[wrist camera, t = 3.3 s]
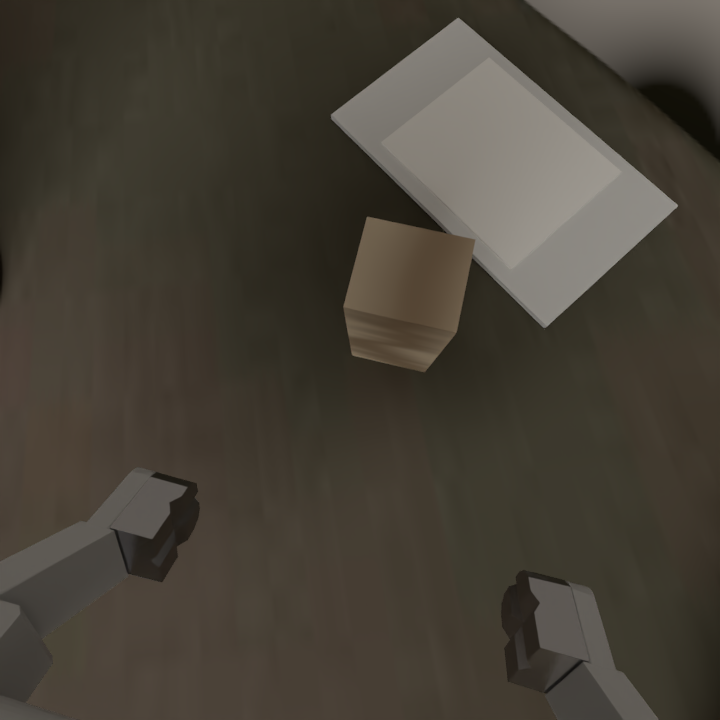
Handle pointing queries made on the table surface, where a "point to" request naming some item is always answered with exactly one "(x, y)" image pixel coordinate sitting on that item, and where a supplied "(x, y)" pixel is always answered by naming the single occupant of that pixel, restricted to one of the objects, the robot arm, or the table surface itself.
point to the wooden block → (406, 293)
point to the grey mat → (504, 169)
